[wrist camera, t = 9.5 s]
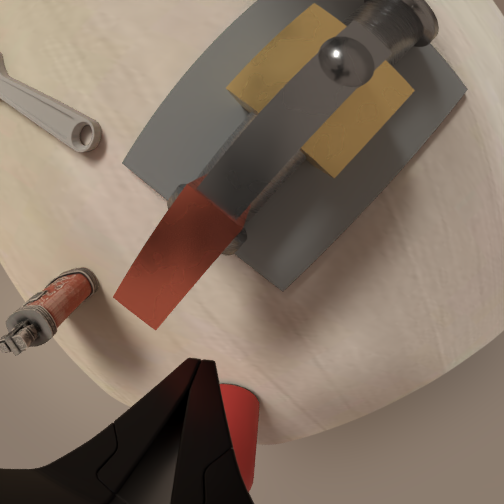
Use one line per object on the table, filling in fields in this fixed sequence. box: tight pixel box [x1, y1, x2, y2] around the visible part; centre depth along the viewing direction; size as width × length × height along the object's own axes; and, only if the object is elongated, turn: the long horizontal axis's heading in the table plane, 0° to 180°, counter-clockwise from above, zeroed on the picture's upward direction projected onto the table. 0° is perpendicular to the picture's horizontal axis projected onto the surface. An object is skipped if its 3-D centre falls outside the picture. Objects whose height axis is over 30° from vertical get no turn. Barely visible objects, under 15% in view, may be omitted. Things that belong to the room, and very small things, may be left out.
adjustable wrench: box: [0, 52, 101, 152], centre depth 15 cm, size 25×6×2 cm, turn 52°
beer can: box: [220, 384, 259, 492], centre depth 21 cm, size 7×7×12 cm
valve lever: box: [113, 20, 392, 330], centre depth 10 cm, size 13×2×3 cm, turn 140°
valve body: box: [167, 0, 439, 255], centre depth 13 cm, size 20×6×7 cm, turn 140°
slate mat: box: [122, 0, 468, 291], centre depth 15 cm, size 22×15×1 cm
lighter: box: [0, 267, 98, 355], centre depth 18 cm, size 8×3×10 cm, turn 111°
